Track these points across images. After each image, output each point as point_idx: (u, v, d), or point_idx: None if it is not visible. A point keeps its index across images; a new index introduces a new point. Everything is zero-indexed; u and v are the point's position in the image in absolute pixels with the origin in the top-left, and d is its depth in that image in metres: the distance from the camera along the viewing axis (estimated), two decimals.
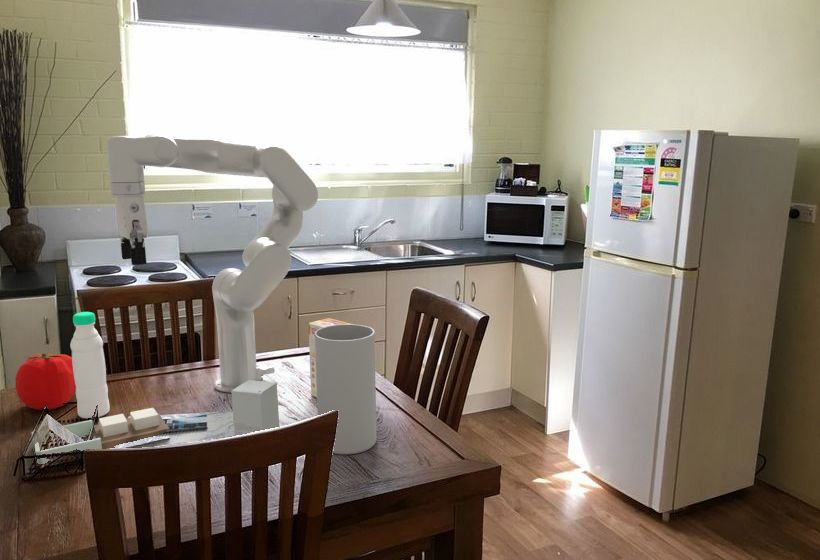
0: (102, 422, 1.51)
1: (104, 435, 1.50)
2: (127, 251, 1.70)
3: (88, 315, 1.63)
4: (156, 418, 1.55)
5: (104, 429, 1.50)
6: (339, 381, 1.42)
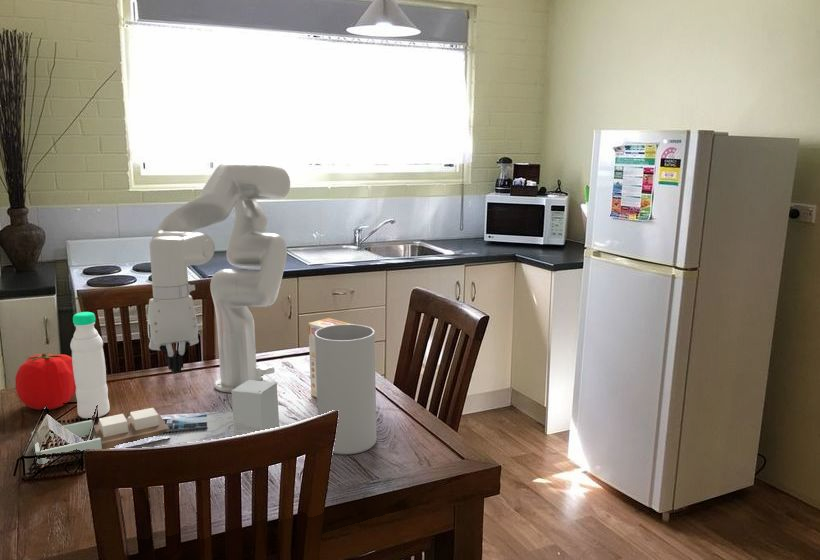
0: (102, 422, 1.51)
1: (104, 435, 1.50)
2: None
3: (88, 315, 1.63)
4: (156, 418, 1.55)
5: (104, 429, 1.50)
6: (339, 381, 1.42)
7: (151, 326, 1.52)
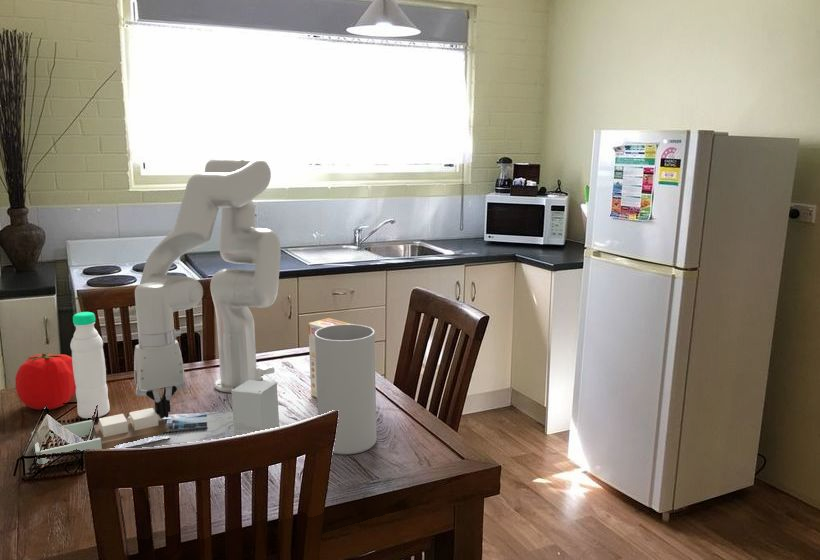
0: (102, 422, 1.51)
1: (104, 435, 1.50)
2: None
3: (88, 315, 1.63)
4: (155, 418, 1.55)
5: (104, 429, 1.50)
6: (339, 381, 1.42)
7: (137, 373, 1.52)
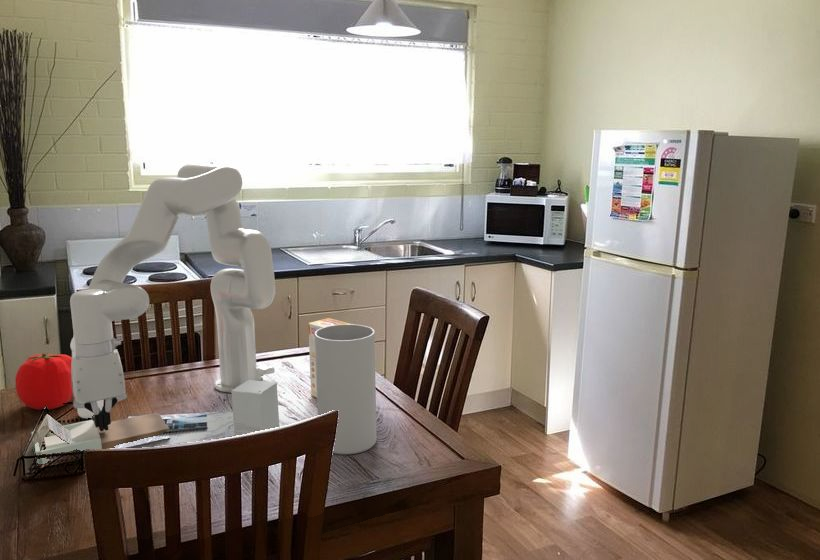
0: (46, 441, 1.46)
1: None
2: None
3: None
4: (95, 431, 1.49)
5: None
6: (339, 381, 1.42)
7: (74, 384, 1.46)
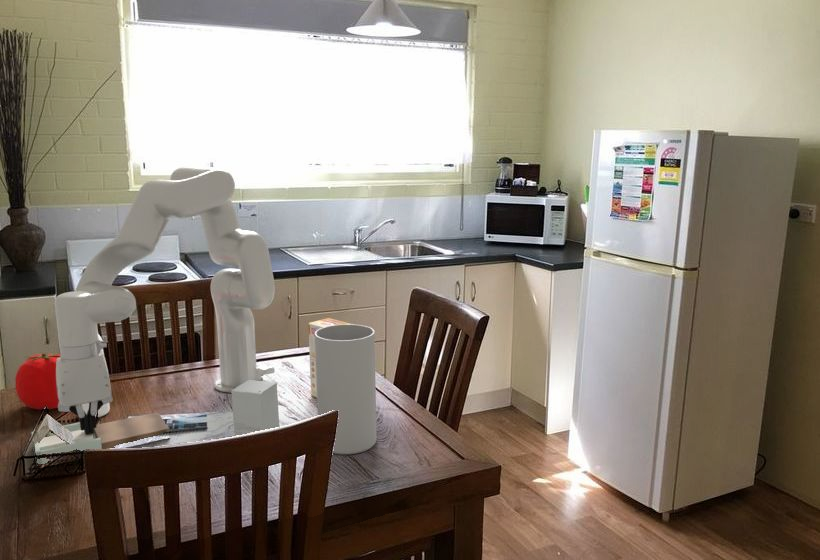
0: (40, 443, 1.45)
1: None
2: (87, 424, 1.50)
3: None
4: (91, 439, 1.49)
5: None
6: (339, 381, 1.42)
7: (58, 387, 1.44)
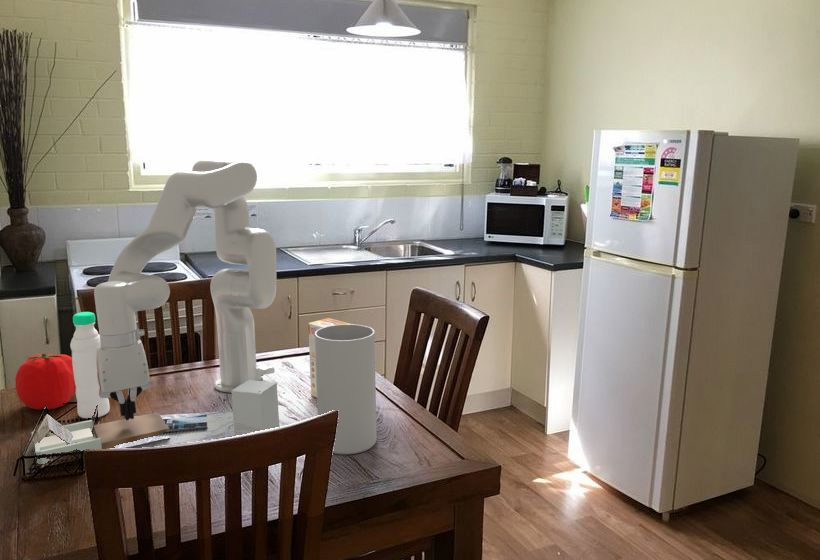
0: (40, 443, 1.45)
1: None
2: None
3: (88, 315, 1.63)
4: (91, 439, 1.49)
5: None
6: (339, 381, 1.42)
7: (99, 375, 1.49)
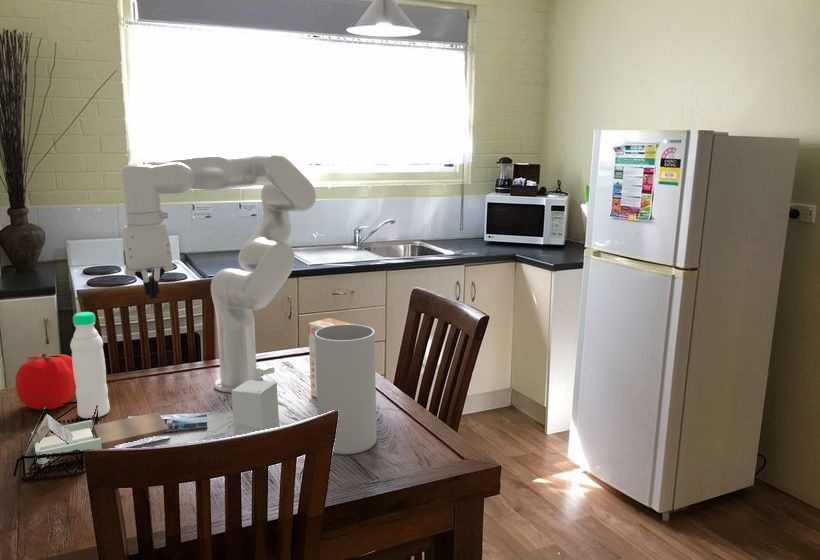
0: (40, 443, 1.45)
1: None
2: None
3: (88, 315, 1.63)
4: (91, 439, 1.49)
5: None
6: (339, 381, 1.42)
7: (126, 252, 1.57)
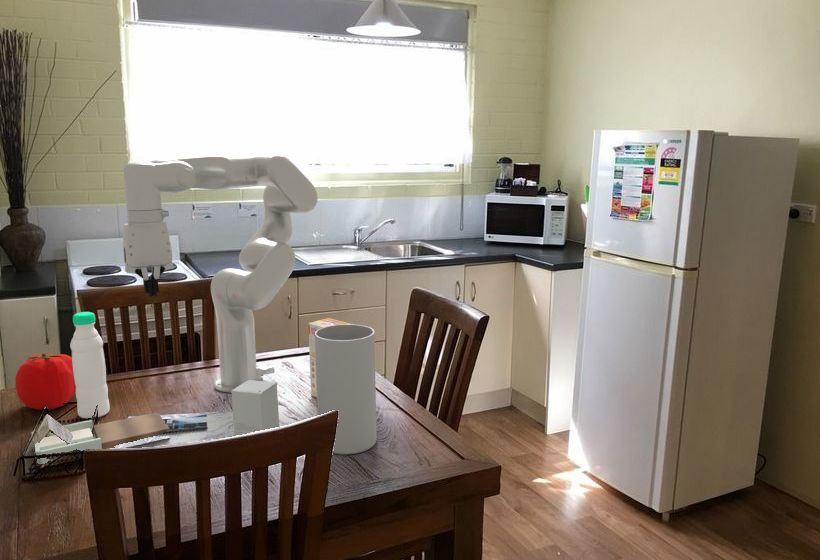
0: (40, 443, 1.45)
1: None
2: None
3: (88, 315, 1.63)
4: (91, 439, 1.49)
5: None
6: (339, 381, 1.42)
7: (126, 249, 1.57)
